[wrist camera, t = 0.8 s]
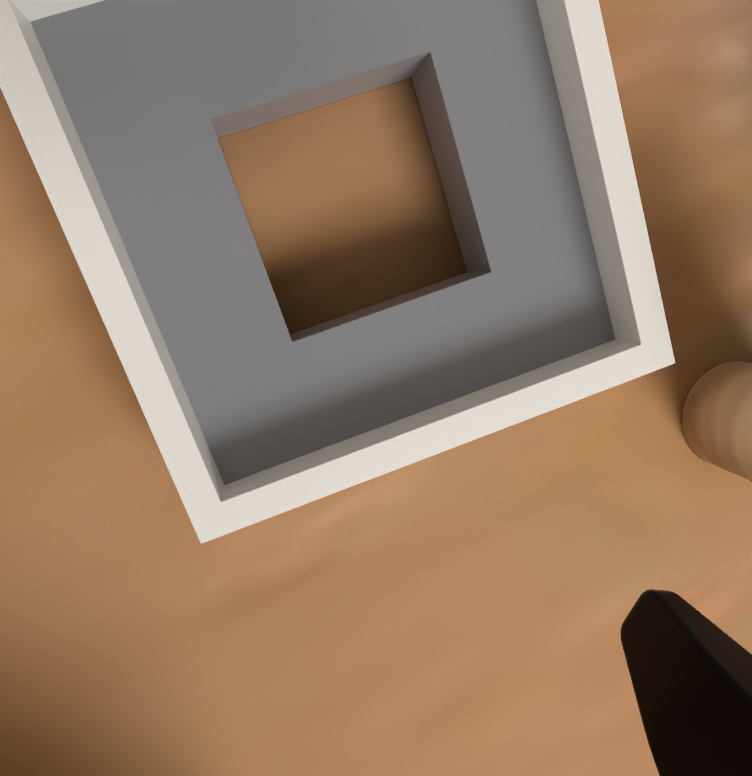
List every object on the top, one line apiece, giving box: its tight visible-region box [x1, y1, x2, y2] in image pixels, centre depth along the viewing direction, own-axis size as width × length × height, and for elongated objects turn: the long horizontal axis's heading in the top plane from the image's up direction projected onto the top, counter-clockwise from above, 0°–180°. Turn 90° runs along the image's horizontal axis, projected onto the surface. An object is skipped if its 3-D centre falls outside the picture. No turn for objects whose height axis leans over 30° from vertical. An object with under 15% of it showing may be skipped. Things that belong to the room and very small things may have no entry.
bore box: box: [0, 0, 675, 544], centre depth 19 cm, size 16×16×4 cm
